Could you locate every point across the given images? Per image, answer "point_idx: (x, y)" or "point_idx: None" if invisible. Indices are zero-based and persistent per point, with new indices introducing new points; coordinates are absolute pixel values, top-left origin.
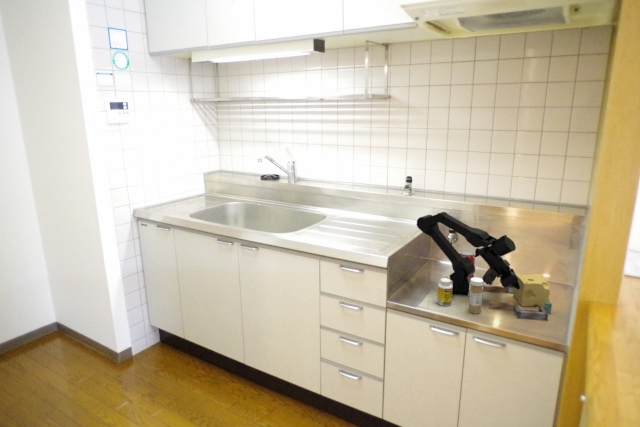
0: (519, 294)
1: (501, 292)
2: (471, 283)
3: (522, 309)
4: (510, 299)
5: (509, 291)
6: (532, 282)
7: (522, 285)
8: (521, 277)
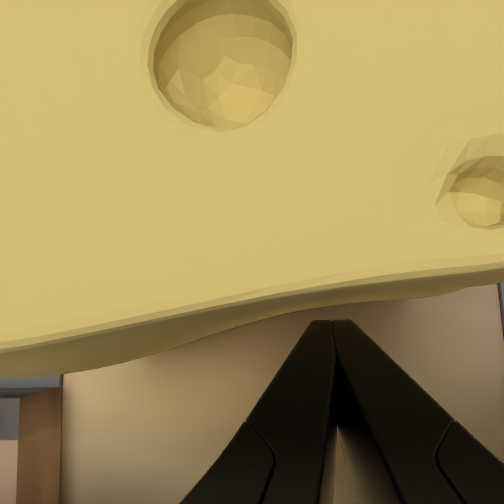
0: (297, 309)
1: (58, 468)
2: None
3: (502, 304)
4: (230, 391)
5: None
6: (445, 25)
7: (431, 286)
8: (103, 253)
